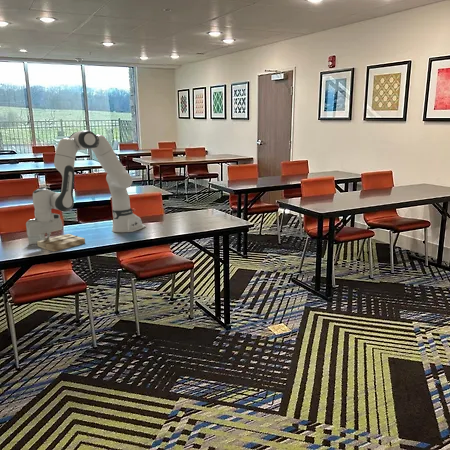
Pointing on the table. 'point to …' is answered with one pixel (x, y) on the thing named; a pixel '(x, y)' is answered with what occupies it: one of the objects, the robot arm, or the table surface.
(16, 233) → the table surface
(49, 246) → the laid board
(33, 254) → the table surface
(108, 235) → the table surface
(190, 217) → the table surface
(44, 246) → the tan quilted pad
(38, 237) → the supplement box
